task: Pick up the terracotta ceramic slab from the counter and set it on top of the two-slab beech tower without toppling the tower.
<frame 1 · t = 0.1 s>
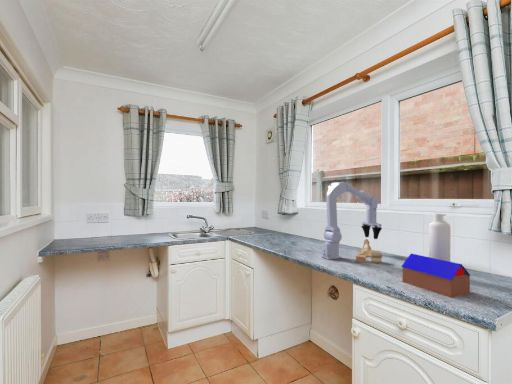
hand: (371, 238, 171), 10 cm above the countertop, tool pointing down, fingers open, 7 cm apart
bottle: (439, 276, 125), on the countertop
tower bottom: (376, 262, 151), on the countertop, touching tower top
bone: (367, 255, 170), on the countertop
house: (434, 288, 110), on the countertop
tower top: (376, 257, 151), point 3 cm above the countertop, touching tower bottom
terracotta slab: (360, 261, 154), on the countertop
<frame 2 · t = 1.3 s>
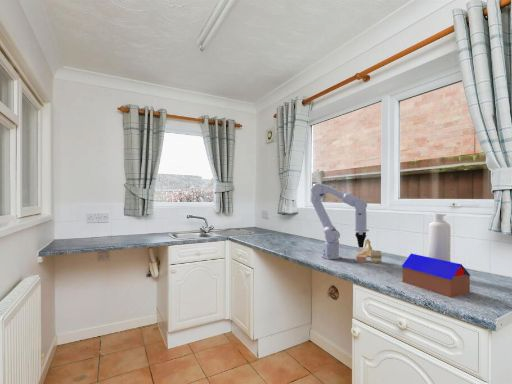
hand: (360, 246, 154), 8 cm above the countertop, tool pointing down, fingers open, 7 cm apart
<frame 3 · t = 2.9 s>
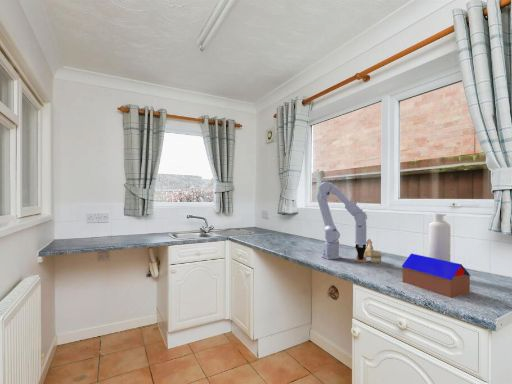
hand: (360, 258, 154), 1 cm above the countertop, tool pointing down, fingers closed on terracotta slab, 5 cm apart
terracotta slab: (361, 260, 153), on the countertop, touching gripper
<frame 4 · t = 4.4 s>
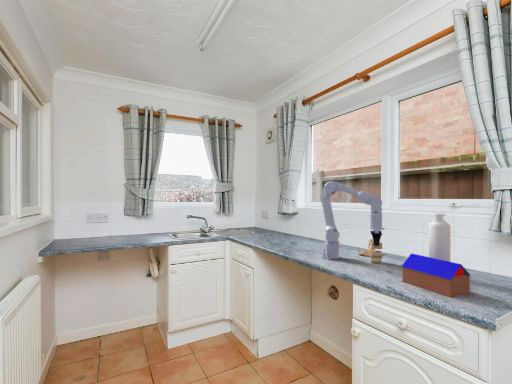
hand: (376, 244, 151), 9 cm above the countertop, tool pointing down, fingers closed on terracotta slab, 5 cm apart
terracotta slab: (376, 248, 151), point 8 cm above the countertop, touching gripper
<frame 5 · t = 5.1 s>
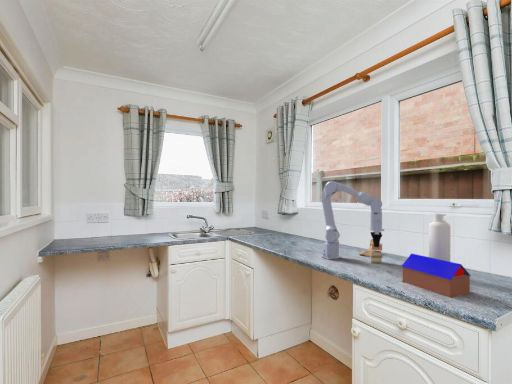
hand: (376, 246, 151), 9 cm above the countertop, tool pointing down, fingers closed on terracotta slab, 5 cm apart
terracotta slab: (376, 249, 151), point 7 cm above the countertop, touching gripper
when the fingers open (9 cm above the countertop, at t = 5.6 s): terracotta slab drops 1 cm, resting on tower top.
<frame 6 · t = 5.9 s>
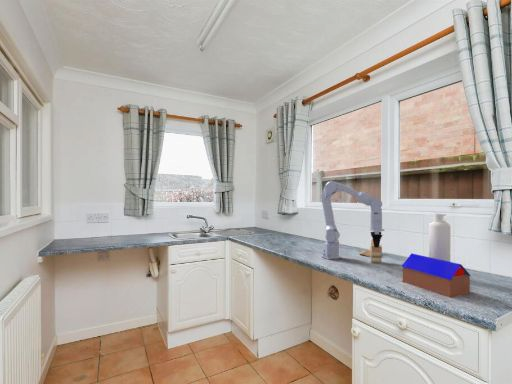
hand: (376, 246, 151), 9 cm above the countertop, tool pointing down, fingers open, 7 cm apart
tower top: (376, 256, 151), point 3 cm above the countertop, touching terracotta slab, tower bottom
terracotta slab: (376, 251, 151), point 6 cm above the countertop, touching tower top
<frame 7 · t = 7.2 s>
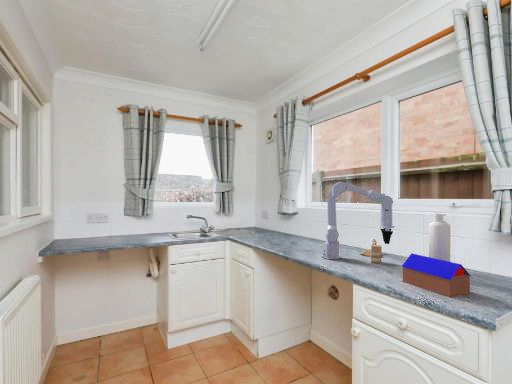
hand: (386, 242, 152), 10 cm above the countertop, tool pointing down, fingers open, 7 cm apart
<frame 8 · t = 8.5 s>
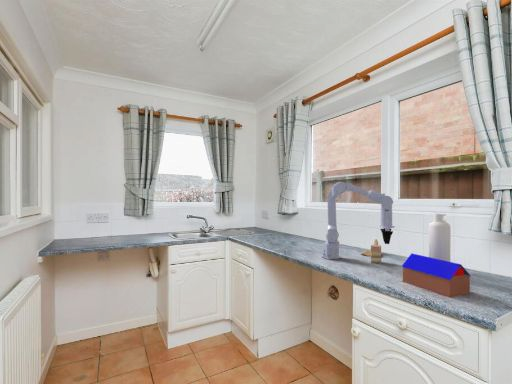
hand: (386, 242, 152), 10 cm above the countertop, tool pointing down, fingers open, 7 cm apart
at the end: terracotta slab 0.0 cm off-centre on the tower bottom, point 6.0 cm above the tower bottom's base; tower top 0.0 cm off-centre on the tower bottom, point 3.0 cm above the tower bottom's base; the gripper is holding nothing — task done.
